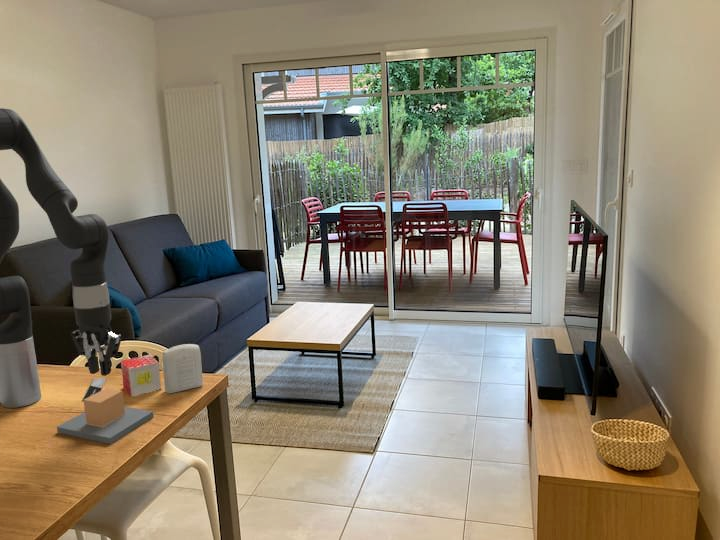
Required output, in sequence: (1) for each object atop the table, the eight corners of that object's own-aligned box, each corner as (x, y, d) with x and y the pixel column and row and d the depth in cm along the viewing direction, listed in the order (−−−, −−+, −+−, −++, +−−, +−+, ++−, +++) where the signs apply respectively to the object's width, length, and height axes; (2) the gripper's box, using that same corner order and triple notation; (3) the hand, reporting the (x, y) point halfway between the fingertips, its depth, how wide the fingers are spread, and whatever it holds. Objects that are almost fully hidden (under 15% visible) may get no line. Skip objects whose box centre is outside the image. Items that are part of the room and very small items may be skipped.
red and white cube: (131, 397, 156) (128, 369, 154) (123, 387, 162) (120, 360, 160) (161, 389, 160) (159, 362, 159) (152, 380, 167) (150, 354, 165)
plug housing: (86, 423, 138) (83, 399, 137) (109, 410, 144) (106, 388, 143) (102, 426, 136) (99, 402, 135) (125, 413, 142) (122, 390, 141)
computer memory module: (92, 378, 168) (107, 376, 168) (92, 381, 168) (107, 380, 169) (81, 399, 154) (97, 397, 154) (81, 403, 154) (98, 401, 155)
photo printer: (200, 381, 165) (196, 339, 163) (205, 386, 162) (201, 343, 159) (163, 390, 160) (159, 347, 157) (167, 395, 156) (163, 351, 154)
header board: (57, 432, 137) (55, 418, 136) (103, 407, 150) (101, 394, 149) (110, 444, 131) (108, 429, 131) (153, 417, 144) (152, 403, 143)
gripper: (55, 304, 133) (65, 375, 137) (102, 309, 128) (111, 383, 132) (81, 296, 140) (90, 364, 144) (127, 301, 135) (135, 371, 139)
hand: (100, 373), depth 138 cm, fingers open, 3 cm apart
